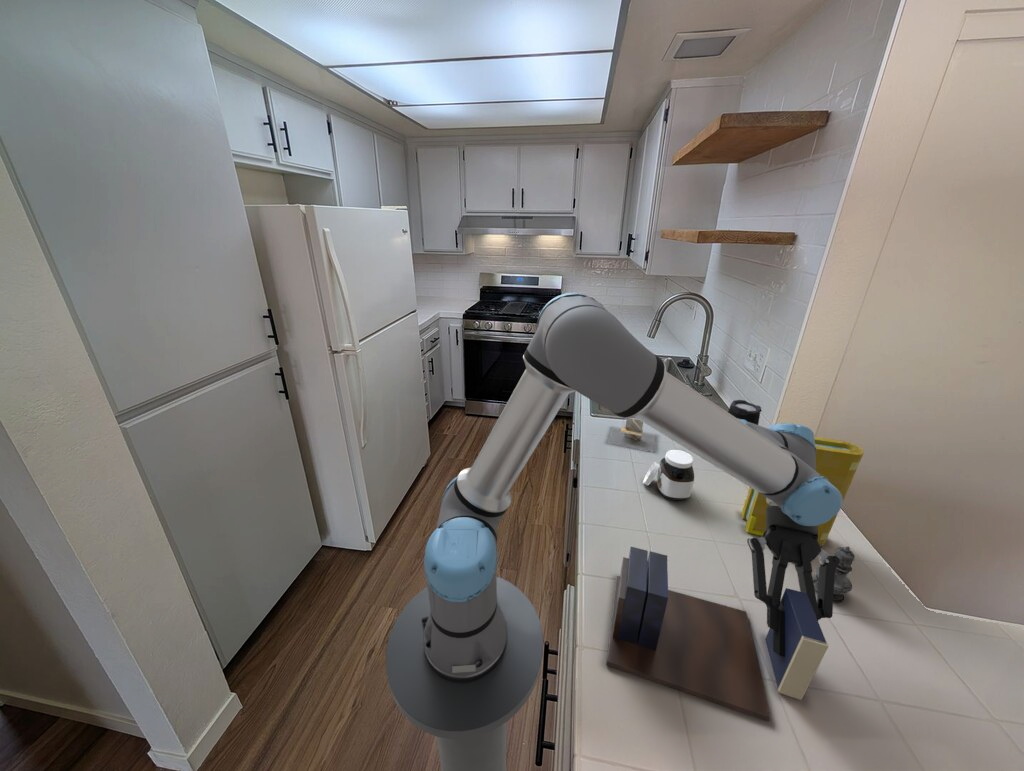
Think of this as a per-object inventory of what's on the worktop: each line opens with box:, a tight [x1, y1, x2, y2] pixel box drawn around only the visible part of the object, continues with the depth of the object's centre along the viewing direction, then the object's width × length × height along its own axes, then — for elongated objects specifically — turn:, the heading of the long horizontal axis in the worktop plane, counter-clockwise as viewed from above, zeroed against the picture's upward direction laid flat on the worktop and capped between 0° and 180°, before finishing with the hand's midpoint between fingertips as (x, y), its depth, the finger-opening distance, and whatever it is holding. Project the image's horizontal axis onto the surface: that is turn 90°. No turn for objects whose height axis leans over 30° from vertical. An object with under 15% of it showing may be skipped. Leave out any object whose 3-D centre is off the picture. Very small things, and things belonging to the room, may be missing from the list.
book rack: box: [605, 546, 771, 722], centre depth 66 cm, size 24×18×14 cm
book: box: [740, 436, 865, 547], centre depth 88 cm, size 17×7×25 cm, turn 72°
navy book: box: [764, 587, 829, 701], centre depth 62 cm, size 3×9×13 cm, turn 161°
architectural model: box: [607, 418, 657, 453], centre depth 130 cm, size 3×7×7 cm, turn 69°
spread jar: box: [642, 449, 695, 501], centre depth 105 cm, size 12×11×12 cm
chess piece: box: [813, 546, 856, 604], centre depth 76 cm, size 6×6×12 cm
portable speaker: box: [727, 399, 762, 425], centre depth 116 cm, size 9×9×20 cm
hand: (792, 657), depth 61 cm, fingers closed on navy book, 3 cm apart
